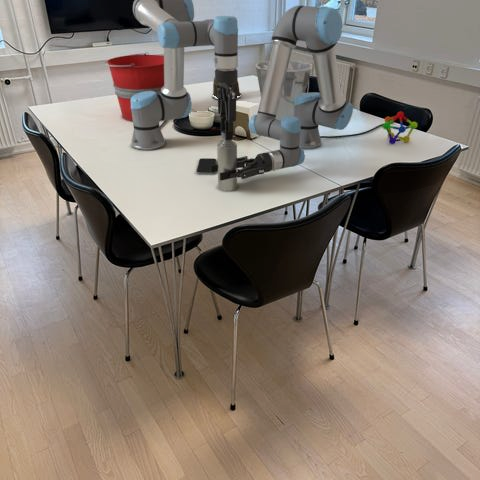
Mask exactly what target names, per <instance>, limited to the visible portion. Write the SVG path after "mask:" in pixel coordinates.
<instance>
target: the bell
mask: <svg viewBox="0 0 480 480" xmlns="http://www.w3.org/2000/svg"><path fill="white" fill-rule="evenodd" d="M212 83H213V84H212V95H214V96H216V97H217V87H216V86H217V85H220V83H219V82H216V81H215V77H214V78H213V81H212ZM233 88H234V93H237V96H240V95H241V96H242V93H241V92H240V83H239V80H237V81H236V82H234V83H233Z"/></svg>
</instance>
